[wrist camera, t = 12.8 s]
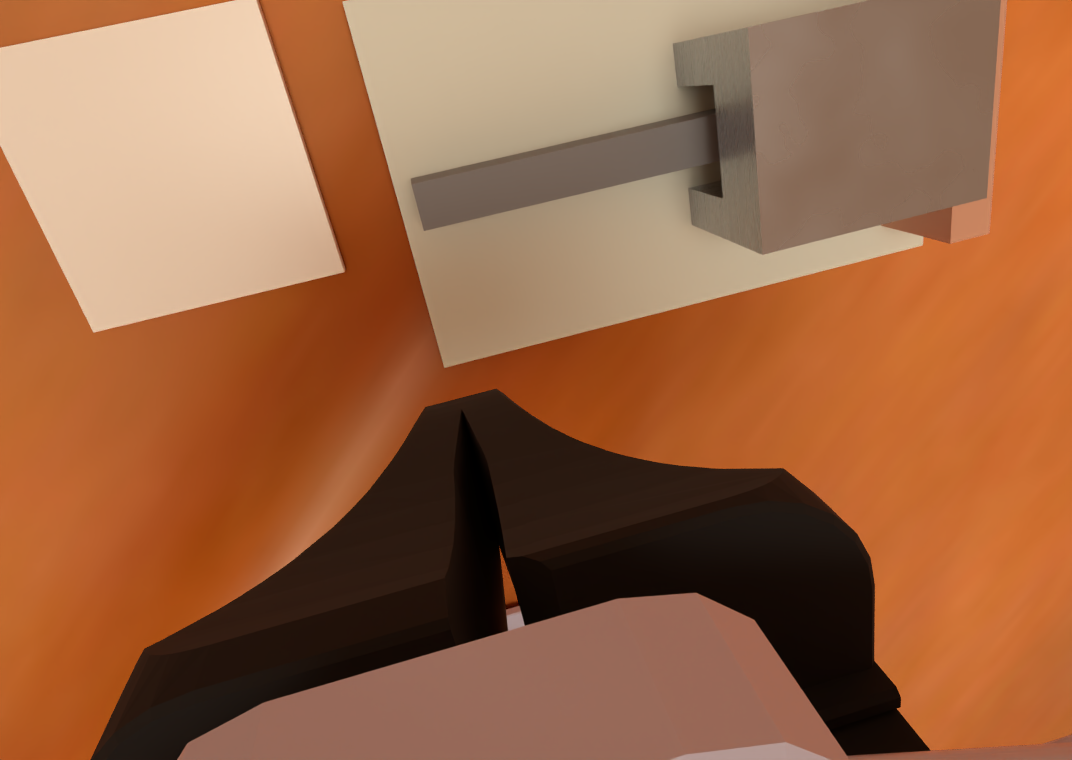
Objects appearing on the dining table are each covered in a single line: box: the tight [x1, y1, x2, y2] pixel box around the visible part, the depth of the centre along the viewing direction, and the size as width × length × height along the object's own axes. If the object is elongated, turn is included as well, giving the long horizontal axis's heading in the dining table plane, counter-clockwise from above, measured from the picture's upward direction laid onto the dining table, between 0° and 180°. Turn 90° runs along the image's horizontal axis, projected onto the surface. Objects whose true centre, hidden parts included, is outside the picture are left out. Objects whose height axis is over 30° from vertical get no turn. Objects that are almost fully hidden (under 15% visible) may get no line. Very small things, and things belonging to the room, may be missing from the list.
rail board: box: [343, 0, 1007, 368], centre depth 18 cm, size 10×16×4 cm, turn 101°
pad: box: [0, 0, 345, 332], centre depth 18 cm, size 7×7×1 cm
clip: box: [673, 0, 1001, 255], centre depth 18 cm, size 5×6×4 cm
